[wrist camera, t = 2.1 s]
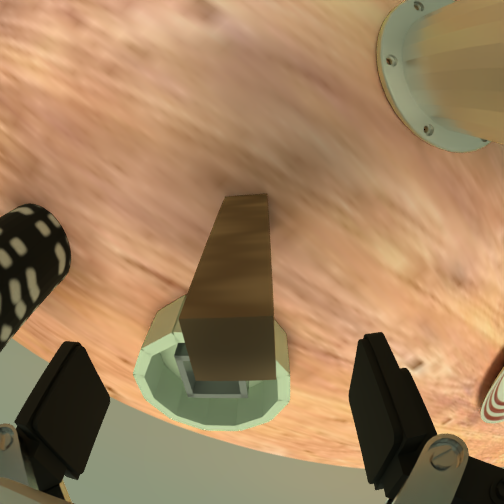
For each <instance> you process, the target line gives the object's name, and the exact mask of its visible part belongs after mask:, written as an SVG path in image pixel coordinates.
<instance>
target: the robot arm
mask: <svg viewBox="0 0 504 504" xmlns="http://www.w3.org/2000/svg"><path fill="white" fill-rule="evenodd" d="M415 8H416V9H415ZM376 51H377V67H378V71H379V76H380V81H381V84H382V86H383V89H384V92H385V94H386V97H387V99H388V100H389V102H390V104H391V106H392V108H393V110H394V111H395V113H396V114H397V115H398V117H399V118H400V119H401V121H402V122H403V123H404V125H405V126H407V127H408V128H409V129H410V130H411V131H412V132H413V133H414V134H415V135H416V136H417V137H419V138H420V139H422V140H423V141H425V142H426V143H428V144H430V145H432V146H435V147H437V148H439V149H443V150H446V151H450V152H457V153H467V152H473V151H476V150H479V149H481V148H483V147H485V146H486V145H488V144H489V143H490V142H496V143H499V144H503V145H504V0H458V1H454V0H406V1H404V2H402V3H401V4H399V5H398V6H397V7H396V8H394V9H393V10H392V11H391V12H390V13H389V15H388V16H387V17H386V19H385V20H384V22H383V24H382V27H381V29H380V32H379V35H378V42H377V48H376ZM386 59H388V60H389V61H390V65H388V64H387V62H386ZM424 126H425V128H426V130H425V132H424ZM349 403H350V407H351V411H352V415H353V419H354V423H355V427H356V431H357V435H358V439H359V443H360V448H361V452H362V456H363V461H364V465H365V470H366V474H367V479H368V482H369V483H370V484H373V483H374V486H375V490H379V489H384V491H385V496H386V497H388V499H387V501H386V503H385V504H504V469H502V468H500V467H497V466H494V465H491V464H489V463H486V462H483V461H481V460H478V459H475V458H473V457H470V456H469V453H468V448H467V446H466V444H465V442H464V441H463V440H462V439H460V438H459V437H457V436H455V435H452V434H439V435H437V432H436V430H435V428H434V425H433V423H432V420H431V418H430V416H429V413H428V411H427V409H426V406H425V404H424V402H423V400H422V397H421V395H420V393H419V391H418V389H417V386H416V384H415V382H414V380H413V378H412V376H411V373H410V372H409V370H408V369H407V368H399V366H398V364H397V362H396V359H395V357H394V355H393V353H392V351H391V349H390V346H389V344H388V342H387V340H386V338H385V336H384V334H383V333H382V332H378V333H371V334H365V335H364V338H363V339H360V340H359V341H358V346H357V352H356V358H355V363H354V369H353V374H352V379H351V384H350V389H349ZM109 404H110V396H109V394H108V392H107V390H106V388H105V387H104V385H103V383H102V381H101V379H100V377H99V375H98V374H97V372H96V370H95V368H94V366H93V364H92V362H91V360H90V358H89V356H88V354H87V352H86V349H85V348H84V347H82V345H81V344H80V343H79V342H69V341H65V342H64V343H63V344H62V345H61V346H60V348H59V349H58V351H57V352H56V354H55V355H54V357H53V359H52V360H51V362H50V363H49V365H48V366H47V368H46V369H45V371H44V373H43V374H42V376H41V377H40V379H39V381H38V382H37V384H36V386H35V388H34V389H33V390H32V392H31V394H30V395H29V397H28V399H27V401H26V402H25V404H24V406H23V407H22V409H21V411H20V413H19V415H18V416H17V418H16V420H15V423H16V425H17V428H16V429H15V428H14V427H13V426H12V425H10V424H0V504H74V503H72V502H71V499H70V497H69V494H68V492H67V489H66V487H65V484H64V482H63V477H64V475H65V476H66V477H69V478H72V479H76V480H78V478H79V476H80V474H82V473H83V472H84V470H85V467H86V464H87V461H88V459H89V456H90V453H91V450H92V448H93V445H94V442H95V440H96V437H97V434H98V432H99V429H100V427H101V424H102V422H103V419H104V416H105V414H106V411H107V409H108V406H109Z"/></svg>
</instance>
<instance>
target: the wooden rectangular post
mask: <svg viewBox="0 0 504 504" xmlns="http://www.w3.org/2000/svg"><path fill="white" fill-rule="evenodd" d="M179 323H180V327H181V330H182V334H183V338H184V341H185V345H186V349H187V352H188V356H189V359H190V363H191V366H192V370H193V373H194V376H195V380H196V381H256V380H276V355H275V330H274V307H273V285H272V265H271V246H270V228H269V213H268V198H267V194H255V195H241V196H228V197H225V198H224V200H223V203H222V205H221V208H220V210H219V213H218V215H217V218H216V220H215V223H214V225H213V228H212V231H211V233H210V236H209V238H208V241H207V243H206V246H205V249H204V251H203V254H202V256H201V259H200V262H199V264H198V267H197V270H196V272H195V275H194V278H193V280H192V283H191V286H190V288H189V291H188V294H187V296H186V299H185V302H184V305H183V307H182V310H181V313H180V316H179Z"/></svg>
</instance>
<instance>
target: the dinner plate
mask: <svg viewBox="0 0 504 504" xmlns="http://www.w3.org/2000/svg"><path fill="white" fill-rule="evenodd" d="M481 418H482V420H483V421H484V422H486V423H499V422H502V421H504V367H503V368H502V370H501V371H500V373H499V375H498V376H497V378H496V379H495V381H494V383H493V384H492V386H491V388H490V390H489V391H488V393H487V395H486V398H485V400H484V402H483V404H482V408H481Z"/></svg>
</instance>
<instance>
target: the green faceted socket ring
mask: <svg viewBox="0 0 504 504" xmlns="http://www.w3.org/2000/svg"><path fill="white" fill-rule="evenodd" d="M185 299H186V295H184V296H182V297H181V298H179V299H177V300H176V301H174V302H172V303H171V304H169V305H167V306H166V307H164V308H162V309H161V310H159V311H158V312H157V314H156V316H155V318H154V320H153V323H152V325H151V327H150V329H149V332H148V334H147V336H146V338H145V341H144V343H143V345H142V348H141V350H140V353H139V356H138V359H137V362H136V365H135V368H134V372H133V376H134V378H135V380H136V382H137V384H138V386H139V388H140V390H141V392H142V395H143V397H144V399H146V401H148V402H149V403H150V404H152V405H153V406H154V407H155V408H157V409H158V410H159V411H161V412H162V413H163V414H165V415H166V416H167V417H169V418H170V419H171V418H172V420H175V421H178V422H181V423H184V424H187V425H190V426H193V427H196V428H199V429H202V430H204V429H205V430H212V431H239V430H240V431H242V430H245V429H248V428H251V427H254V426H257V425H260V424H263V423H266V422H269V421H270V420H272V419H273V418H274V417H275V416H276V415H277V414H278V413H279V412H280V411H281V410H282V409H283V408H284V407H285V406H286V405H287V404H288V403H289V401H290V369H289V357H288V345H287V335H286V333H285V332H284V330H283V329H282V328H281V327H280V326H279V324H278V323H277V322H276V321H275V320H274V330H275V355H276V380H256V381H196V380H195V376H194V373H193V370H192V366H191V363H190V359H189V356H188V352H187V349H186V345H185V341H184V338H183V334H182V330H181V327H180V323H179V316H180V313H181V310H182V307H183V305H184V302H185Z"/></svg>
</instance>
